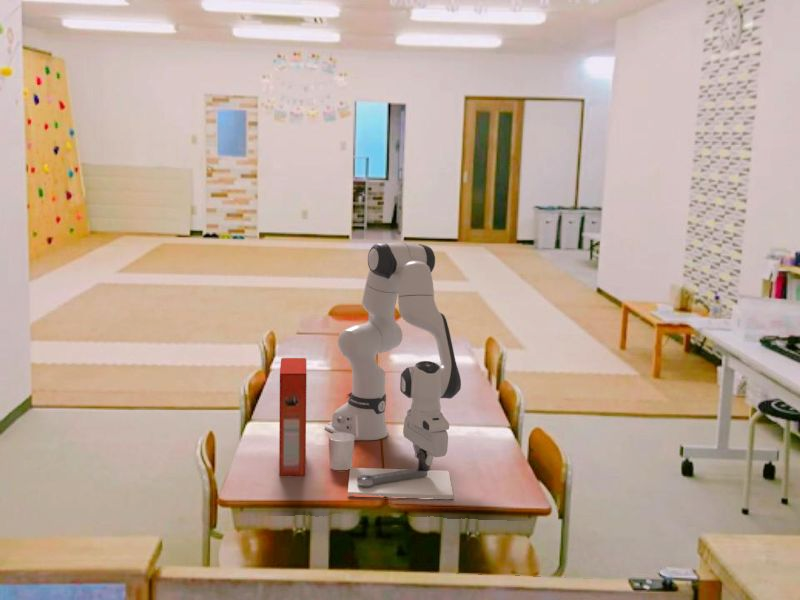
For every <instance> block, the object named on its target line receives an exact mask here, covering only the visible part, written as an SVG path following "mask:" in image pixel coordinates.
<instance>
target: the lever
mask: <svg viewBox="0 0 800 600" xmlns="http://www.w3.org/2000/svg"><path fill="white" fill-rule="evenodd" d="M427 456H428V455H427V451H425V450H424V449H422V448H420V449H419V456H418V459H417V460H418V461H417V468H412V469H411V468H409V469H407V470H403V471H397V472H390V473H384V474H377V475H360V476H358V477H357V485H358V486H360V487H372V486H374V484H380V483H386V482H392V481H398V480H405V479H411V478H417V477H423V476H427V471H429V470H431V465H429V466H428V465H426V464H425V458H427Z"/></svg>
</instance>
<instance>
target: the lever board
mask: <svg viewBox="0 0 800 600" xmlns="http://www.w3.org/2000/svg"><path fill="white" fill-rule="evenodd" d="M403 470H408V469H405V468H404V469H401V468H399V469H398V468H397V469H396V468H372V467H371V468H369V467H367V468H365V467H352V468H350V470H349V476H348V486H347V495H348V494H349V495H353V494H359V495H372V496H375V495H376V496H379V495H381V496H386V497H393V496H394V497H406V498H433V499H453V500H454V492H453V489H452V482H451V477H450V473H449V470H440V469H439V470H435V469H434V470H432V469H430V470H429V471H427V476H423V477H417V478H411V479H405V480H398V481H392V482H386V483H380V484H374V486H372V487H360V486H358V485H357V477H358V476H360V475H377V474H384V473H390V472H397V471H403Z"/></svg>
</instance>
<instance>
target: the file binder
mask: <svg viewBox="0 0 800 600" xmlns="http://www.w3.org/2000/svg"><path fill="white" fill-rule="evenodd" d="M279 368H280V369H279V434H278V435H279V440H278V441H279V445H278V446H279V450H278V451H279V453H278V455H279V456H278V457H279V458H278V459H279V465H278V467H279V471H278V474H279V477H280V476H293V477H305V476H306V471H307V470H306V467H307V466H306V465H307V464H306V463H307V460H306V459H307V458H306V457H307V456H306V455H307V452H306V451H307V450H306V448H307V375H308V373H307V358H306V357H281V358H280V366H279Z"/></svg>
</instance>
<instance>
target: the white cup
mask: <svg viewBox="0 0 800 600" xmlns="http://www.w3.org/2000/svg"><path fill="white" fill-rule="evenodd" d="M354 439H355V437H354V435H352V434H350V433H344V432H338V433H333V432H332V433H331V434H329V436H328V452H329V453H328V454H329V455H328V458H329V467H330V469H331V468H332V469H334V470H333V471H335V470H346V469H350V468H351V467H352V468H353V459H354V450H355V449H354V448H355V440H354ZM332 469H331V470H332Z"/></svg>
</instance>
